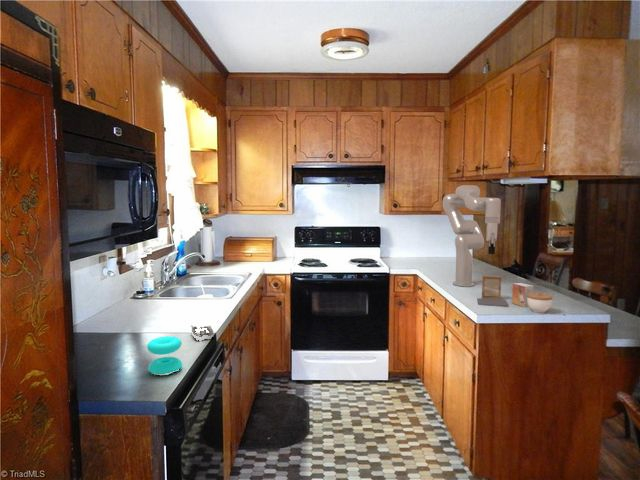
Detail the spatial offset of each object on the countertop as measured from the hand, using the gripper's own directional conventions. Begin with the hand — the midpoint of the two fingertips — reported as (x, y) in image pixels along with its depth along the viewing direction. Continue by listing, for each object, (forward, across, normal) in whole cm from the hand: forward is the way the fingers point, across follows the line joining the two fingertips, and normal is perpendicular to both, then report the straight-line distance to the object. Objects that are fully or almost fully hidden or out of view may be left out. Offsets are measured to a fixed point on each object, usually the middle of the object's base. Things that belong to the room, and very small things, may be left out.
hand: (491, 253), depth 235 cm
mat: (+23, +20, 0) cm, 30 cm away
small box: (+23, +19, +14) cm, 33 cm away
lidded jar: (+23, +30, +20) cm, 43 cm away
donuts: (+23, +144, -103) cm, 179 cm away
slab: (+23, +9, 0) cm, 25 cm away
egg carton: (+24, +112, -111) cm, 159 cm away
